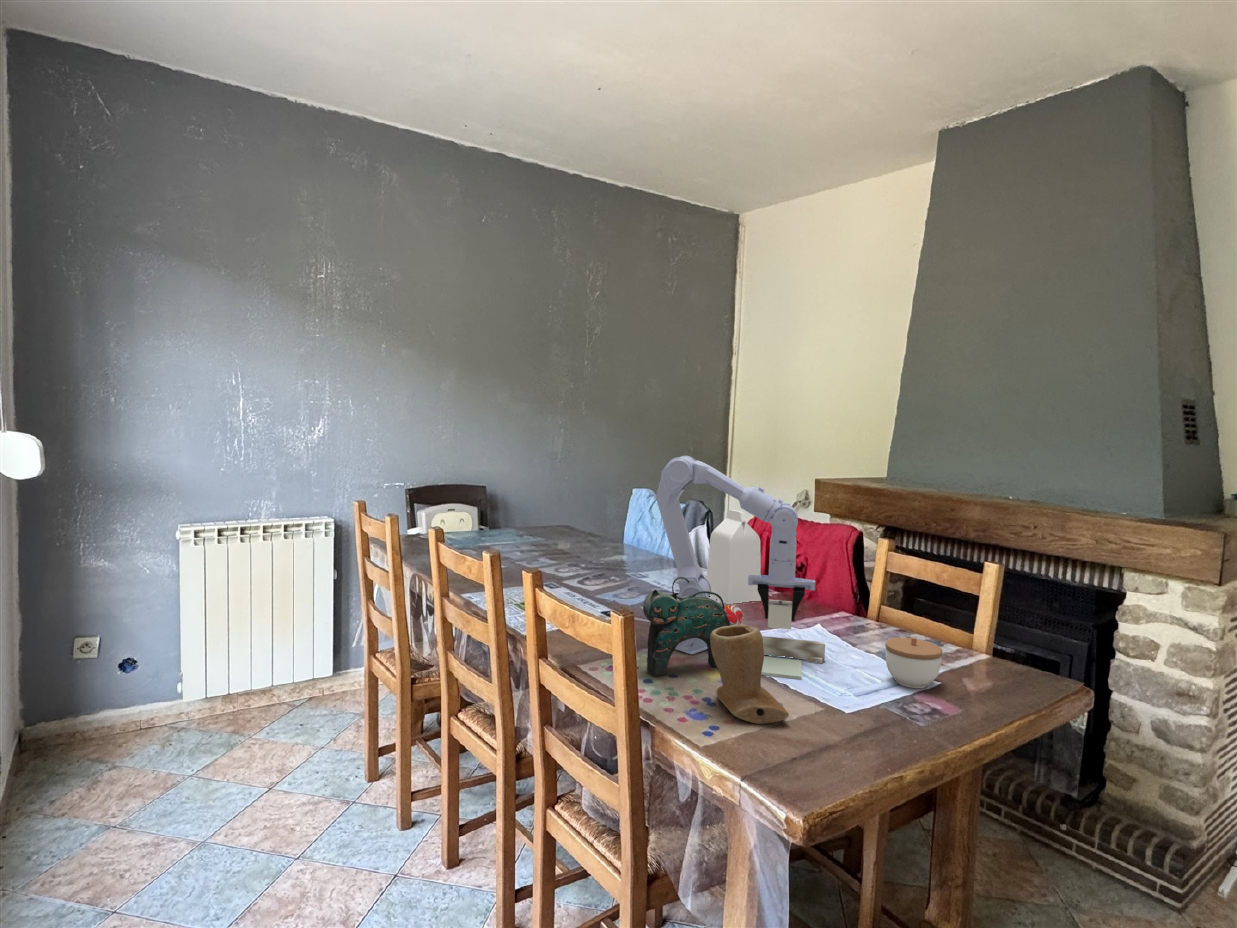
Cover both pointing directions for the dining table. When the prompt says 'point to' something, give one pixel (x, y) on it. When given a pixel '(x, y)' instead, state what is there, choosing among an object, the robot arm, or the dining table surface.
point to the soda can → (734, 615)
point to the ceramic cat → (679, 624)
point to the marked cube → (780, 614)
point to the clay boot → (743, 674)
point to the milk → (734, 560)
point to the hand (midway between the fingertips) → (779, 618)
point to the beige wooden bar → (794, 648)
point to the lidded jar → (913, 661)
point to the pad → (782, 667)
